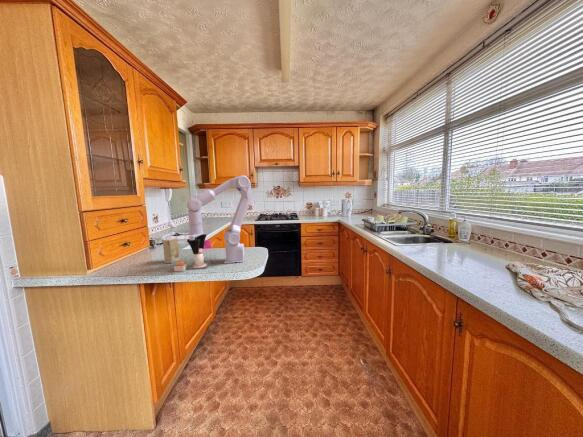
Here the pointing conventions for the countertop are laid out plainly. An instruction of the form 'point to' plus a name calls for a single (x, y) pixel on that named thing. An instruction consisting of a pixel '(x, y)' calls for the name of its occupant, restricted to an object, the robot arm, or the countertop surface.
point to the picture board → (206, 264)
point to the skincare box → (171, 250)
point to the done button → (180, 263)
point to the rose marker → (199, 258)
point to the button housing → (180, 267)
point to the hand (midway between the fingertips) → (198, 251)
